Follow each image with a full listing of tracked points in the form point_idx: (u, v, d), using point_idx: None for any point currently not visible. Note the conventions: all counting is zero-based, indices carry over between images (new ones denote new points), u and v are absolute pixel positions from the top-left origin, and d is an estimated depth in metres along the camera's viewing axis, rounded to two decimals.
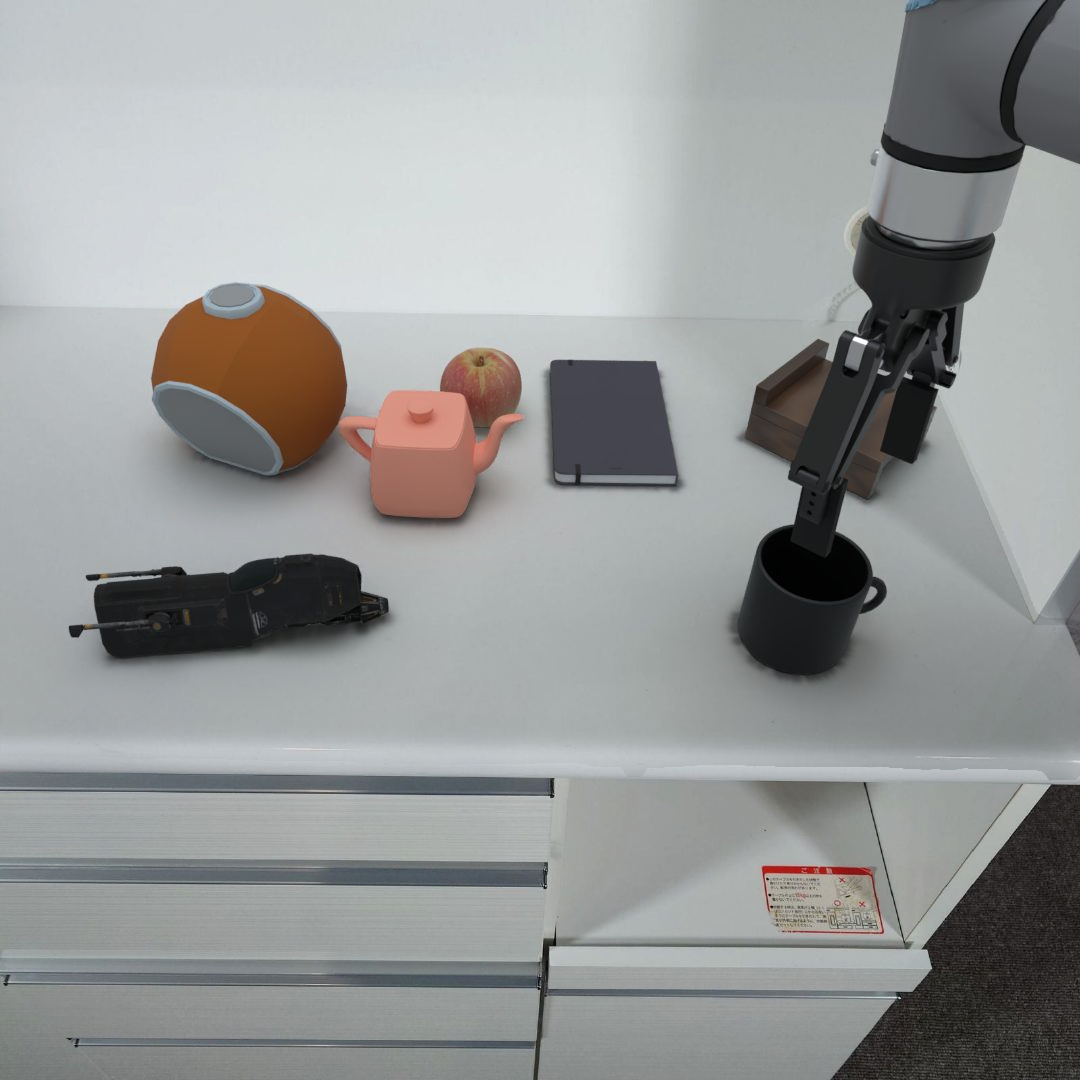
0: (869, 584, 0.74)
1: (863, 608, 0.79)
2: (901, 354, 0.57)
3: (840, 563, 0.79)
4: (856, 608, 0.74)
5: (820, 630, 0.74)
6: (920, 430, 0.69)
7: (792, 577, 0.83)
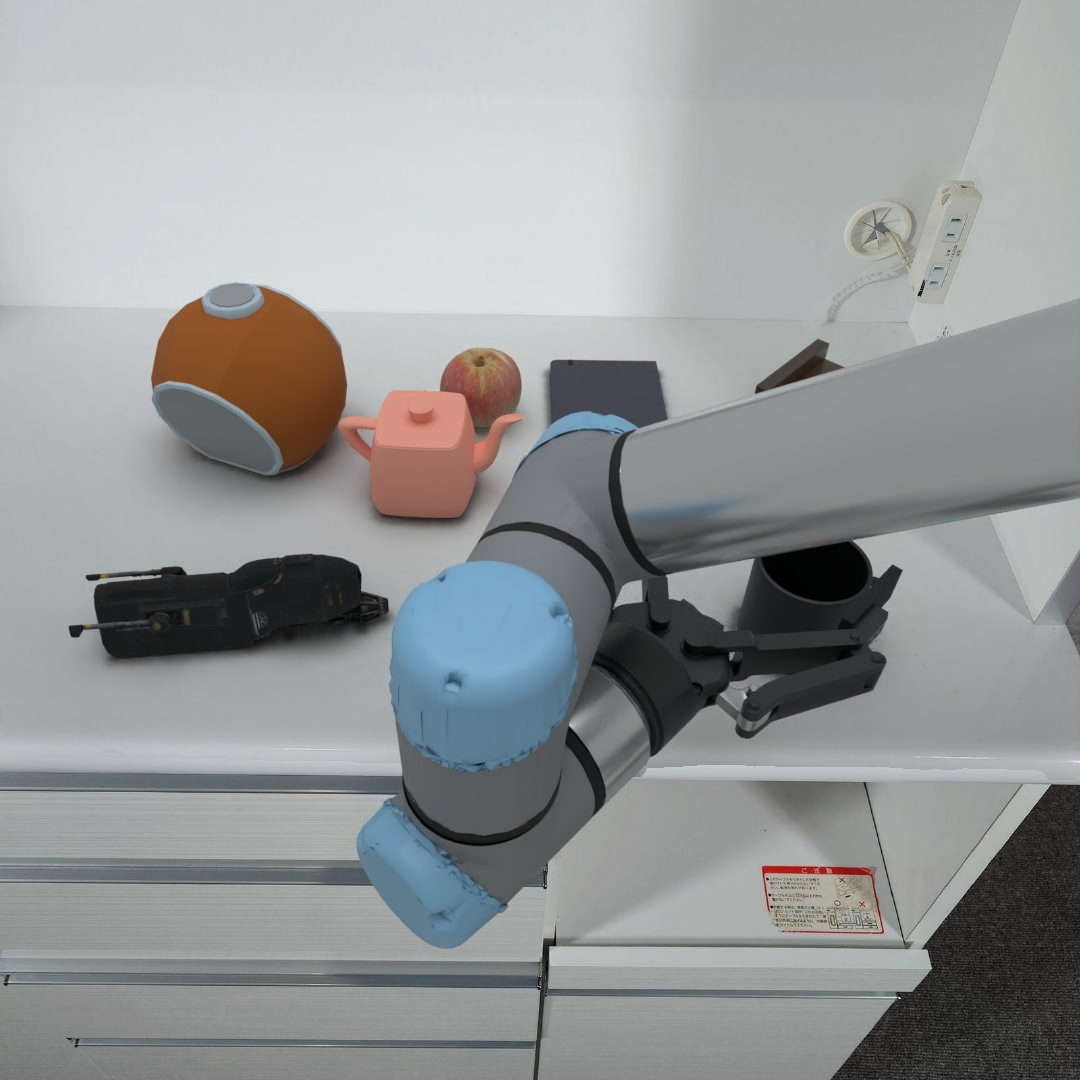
0: (869, 584, 0.74)
1: None
2: (720, 652, 0.54)
3: (840, 563, 0.79)
4: None
5: (820, 630, 0.74)
6: None
7: (792, 577, 0.83)
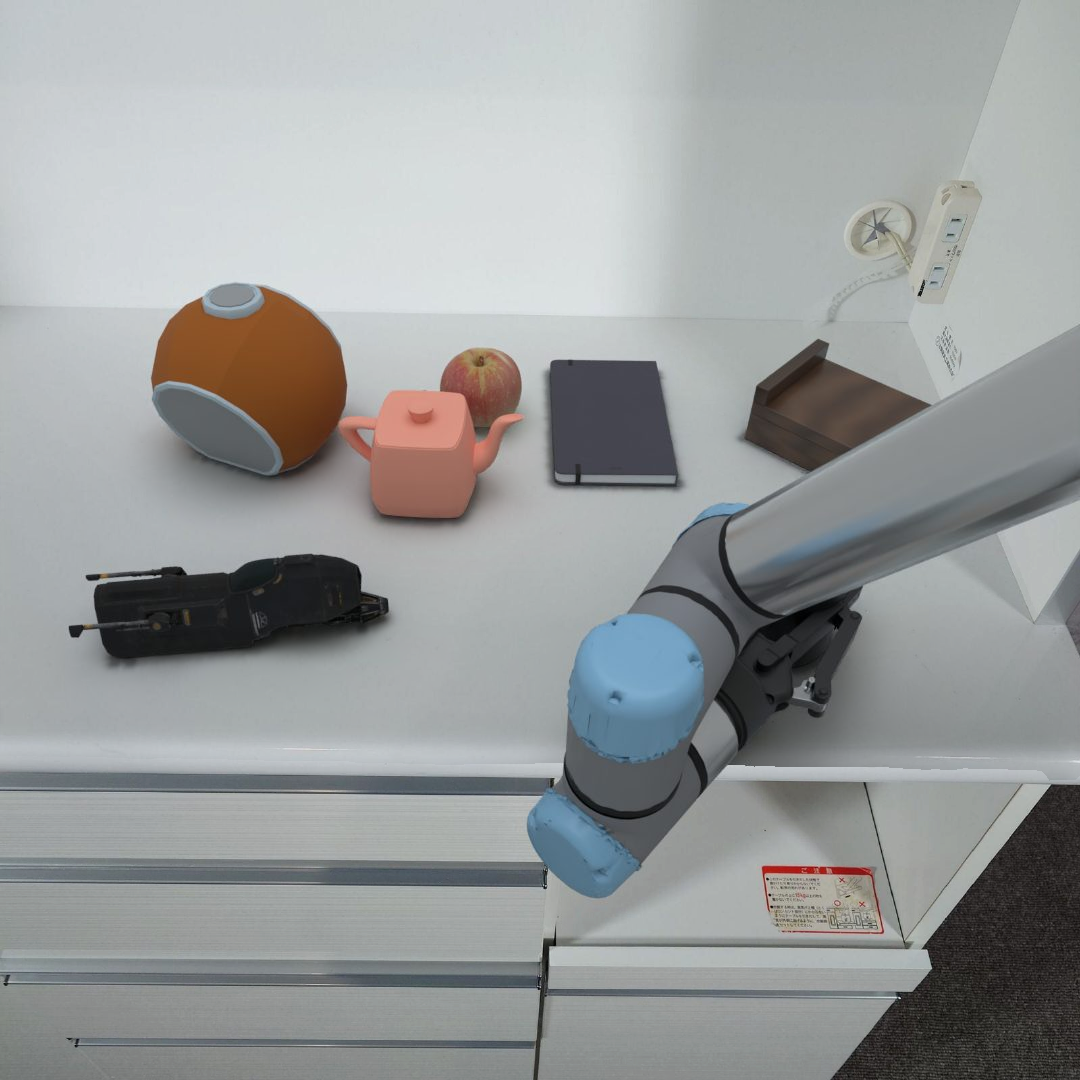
0: None
1: None
2: (781, 659, 0.70)
3: None
4: None
5: None
6: None
7: None
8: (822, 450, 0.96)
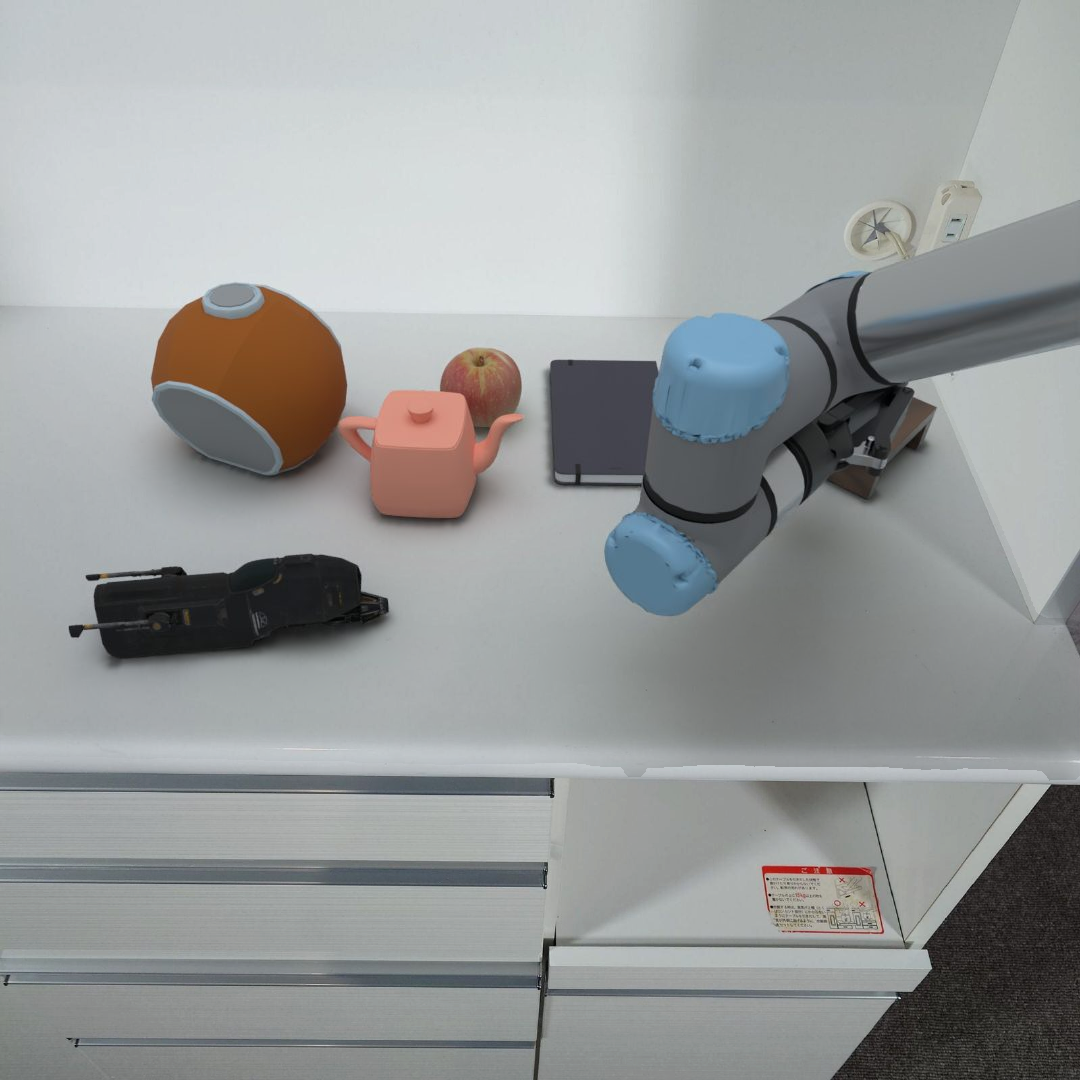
0: None
1: None
2: (840, 422, 0.72)
3: None
4: None
5: (884, 403, 0.77)
6: None
7: None
8: None
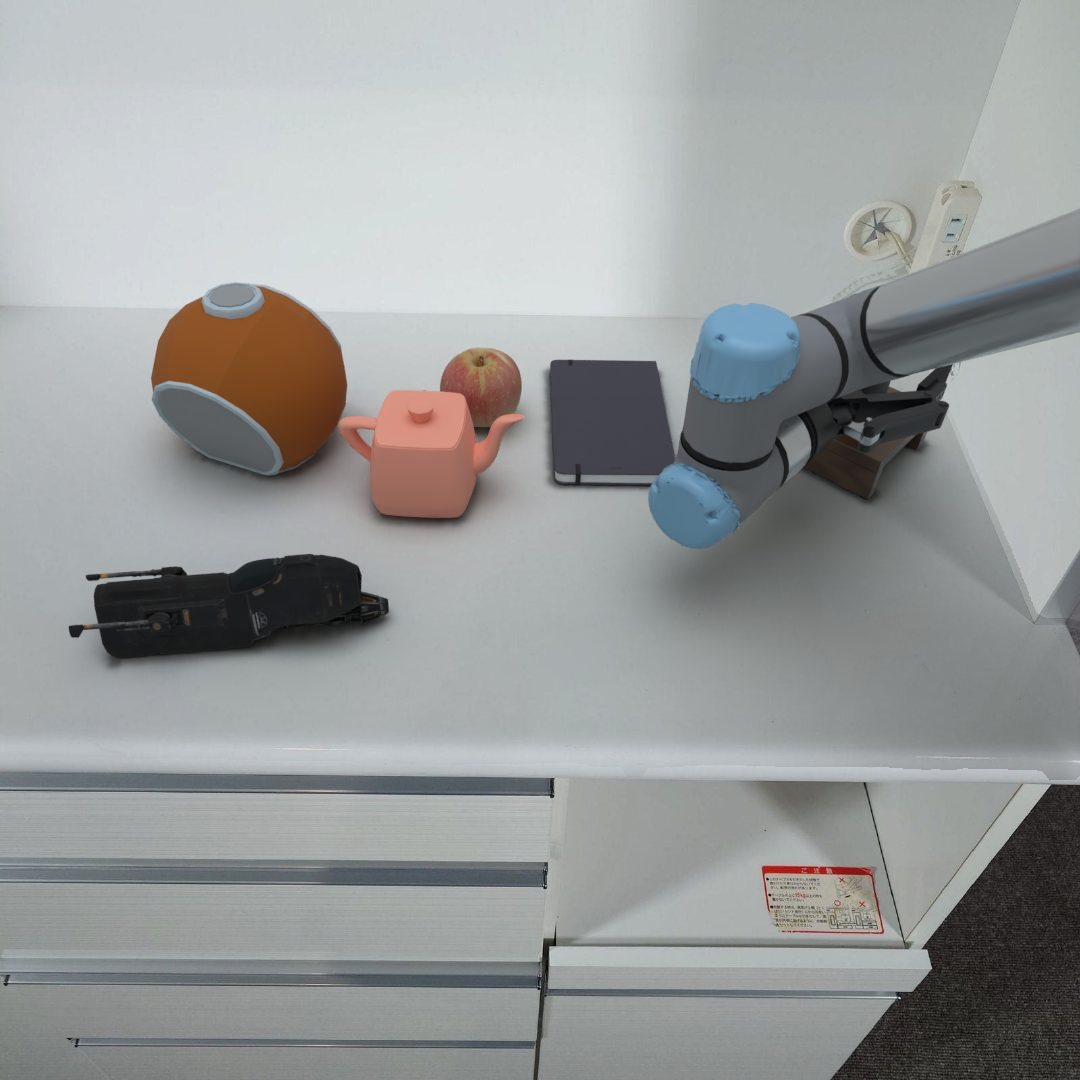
0: None
1: None
2: (845, 402, 0.86)
3: None
4: None
5: None
6: None
7: None
8: (822, 450, 0.96)
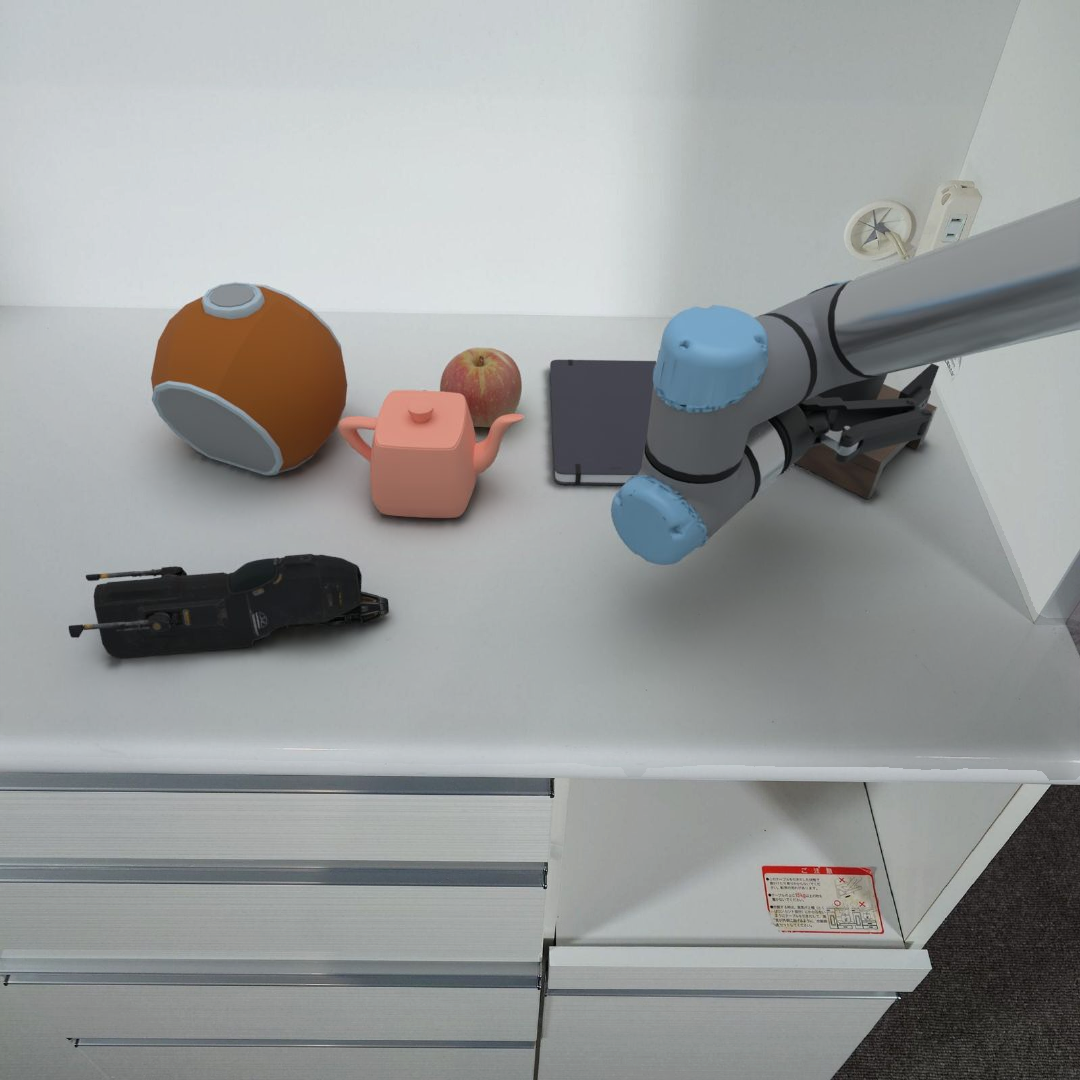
0: None
1: None
2: (822, 409, 0.82)
3: None
4: None
5: (875, 385, 0.91)
6: None
7: None
8: (822, 450, 0.96)
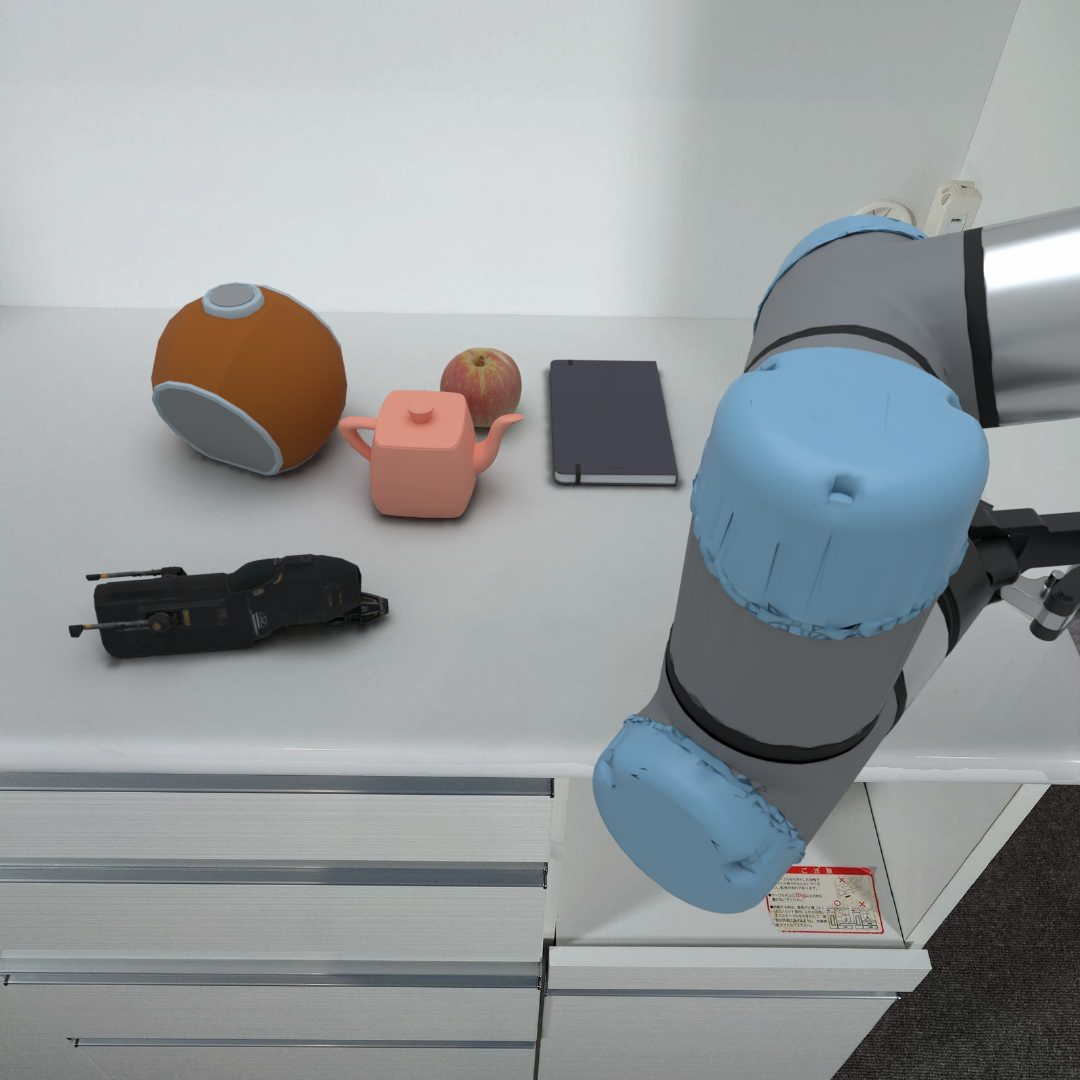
0: None
1: None
2: (1002, 534, 0.42)
3: None
4: None
5: None
6: None
7: None
8: None
